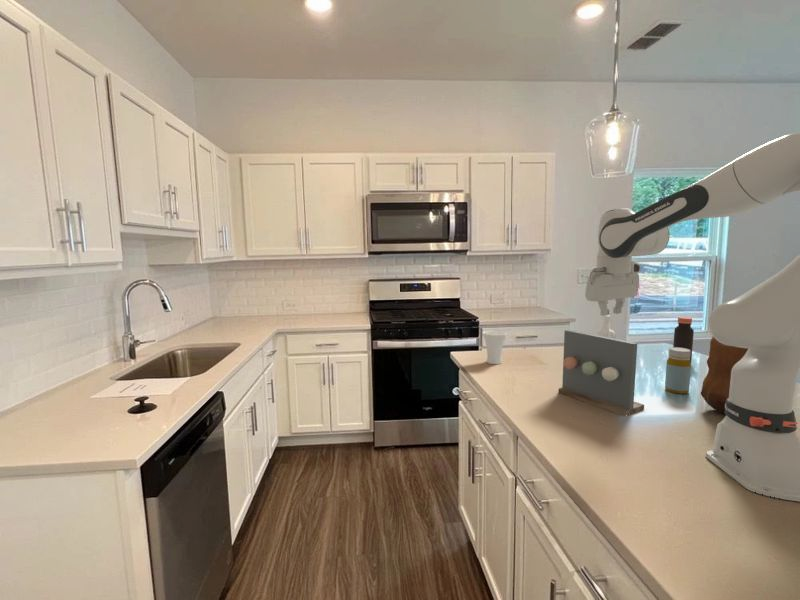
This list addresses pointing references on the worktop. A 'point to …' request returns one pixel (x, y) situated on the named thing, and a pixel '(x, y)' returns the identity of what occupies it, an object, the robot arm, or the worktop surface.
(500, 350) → the cup
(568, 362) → the terracotta button
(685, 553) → the worktop surface
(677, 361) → the bottle
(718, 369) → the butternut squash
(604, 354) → the button panel
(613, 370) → the cream button
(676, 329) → the vinegar
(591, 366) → the sage button
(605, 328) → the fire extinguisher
